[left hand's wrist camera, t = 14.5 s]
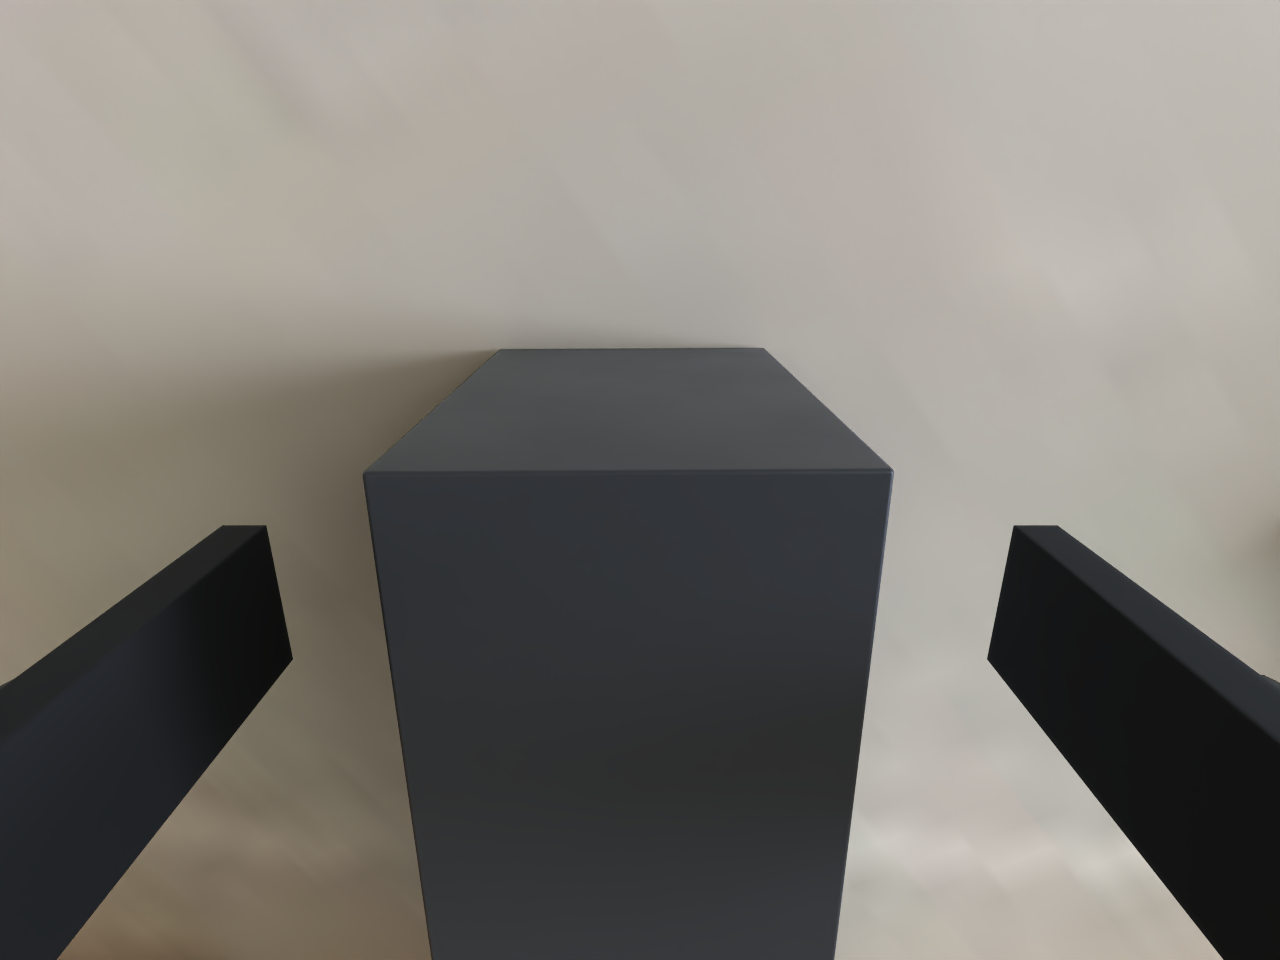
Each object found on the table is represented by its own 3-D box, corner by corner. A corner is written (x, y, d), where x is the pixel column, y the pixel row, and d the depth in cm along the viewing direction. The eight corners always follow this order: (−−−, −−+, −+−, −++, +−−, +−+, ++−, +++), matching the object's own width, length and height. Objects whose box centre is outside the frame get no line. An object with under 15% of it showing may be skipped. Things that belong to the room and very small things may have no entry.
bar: (498, 348, 16) (360, 472, 8) (765, 347, 16) (895, 470, 8) (548, 1058, 24) (505, 1478, 16) (725, 1056, 24) (771, 1476, 16)
